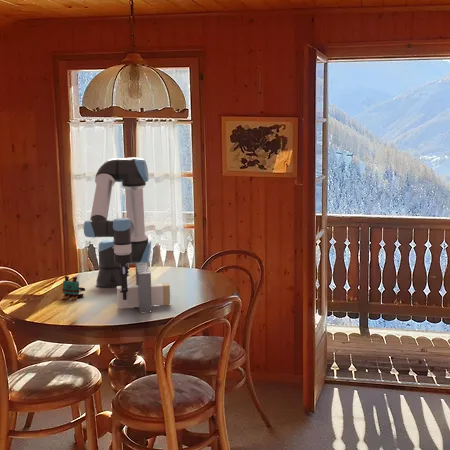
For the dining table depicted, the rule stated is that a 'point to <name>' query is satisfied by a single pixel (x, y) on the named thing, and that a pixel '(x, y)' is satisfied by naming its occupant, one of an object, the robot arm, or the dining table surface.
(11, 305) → the dining table surface
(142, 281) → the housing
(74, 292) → the binoculars
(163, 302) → the grey rectangular block
